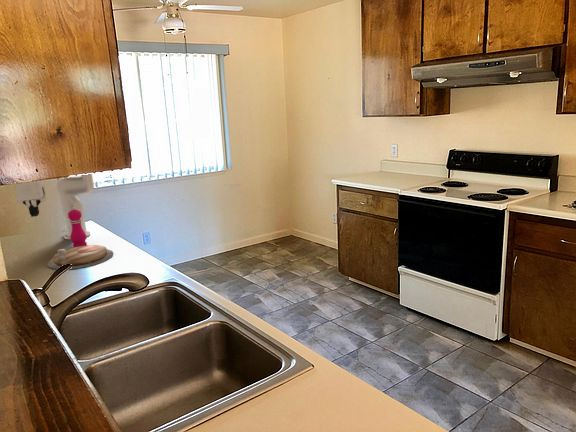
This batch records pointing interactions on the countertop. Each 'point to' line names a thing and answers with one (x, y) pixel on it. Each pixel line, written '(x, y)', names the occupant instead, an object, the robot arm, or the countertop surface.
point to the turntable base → (107, 257)
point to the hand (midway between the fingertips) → (35, 215)
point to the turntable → (80, 255)
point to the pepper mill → (77, 228)
